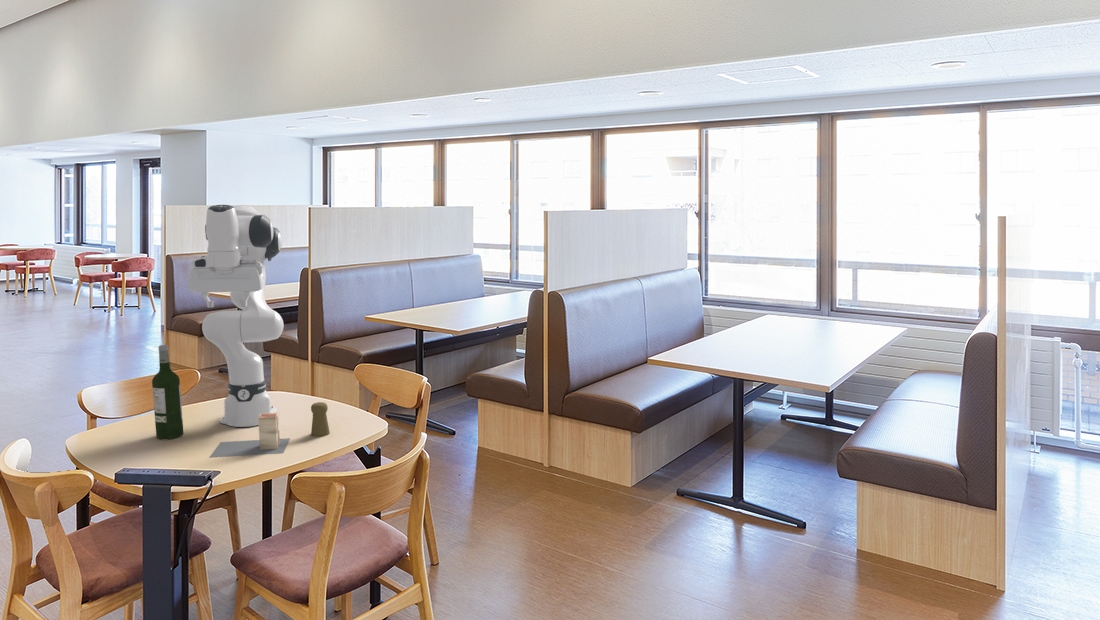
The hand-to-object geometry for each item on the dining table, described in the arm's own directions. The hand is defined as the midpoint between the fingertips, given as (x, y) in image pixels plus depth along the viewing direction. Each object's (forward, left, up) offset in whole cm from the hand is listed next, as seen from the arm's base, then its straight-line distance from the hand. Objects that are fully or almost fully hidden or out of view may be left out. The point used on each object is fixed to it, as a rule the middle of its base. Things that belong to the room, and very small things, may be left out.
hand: (227, 306), depth 221 cm
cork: (-11, +24, -45) cm, 52 cm away
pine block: (-1, +10, -44) cm, 45 cm away
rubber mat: (-1, +4, -45) cm, 45 cm away
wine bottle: (-19, -24, -45) cm, 54 cm away
